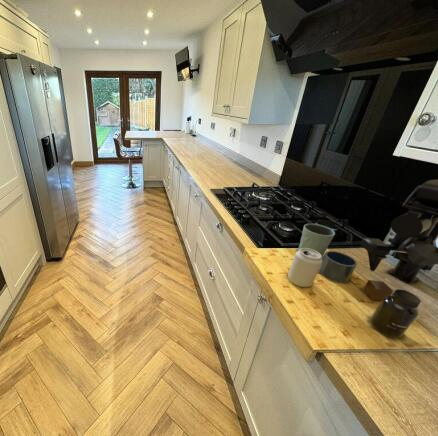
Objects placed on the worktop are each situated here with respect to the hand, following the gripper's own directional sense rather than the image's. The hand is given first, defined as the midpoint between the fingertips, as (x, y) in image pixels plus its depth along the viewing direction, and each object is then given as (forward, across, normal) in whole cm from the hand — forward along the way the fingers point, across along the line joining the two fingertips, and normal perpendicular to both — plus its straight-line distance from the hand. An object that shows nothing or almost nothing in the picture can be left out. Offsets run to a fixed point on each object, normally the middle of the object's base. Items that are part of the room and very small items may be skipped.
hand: (388, 272), depth 73 cm
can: (+10, -22, +2) cm, 24 cm away
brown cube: (+9, 0, 0) cm, 9 cm away
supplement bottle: (+10, -6, -14) cm, 18 cm away
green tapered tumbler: (+10, -11, +21) cm, 26 cm away
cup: (+9, -8, +9) cm, 15 cm away
